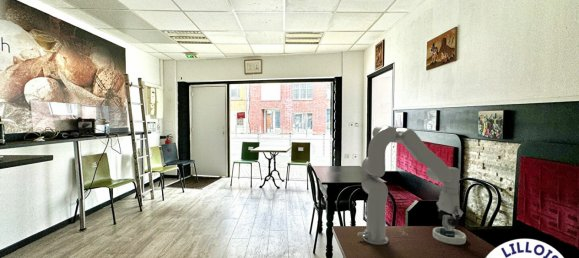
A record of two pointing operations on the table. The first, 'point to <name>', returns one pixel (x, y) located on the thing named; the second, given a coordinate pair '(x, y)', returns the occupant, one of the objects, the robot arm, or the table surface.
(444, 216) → the watch
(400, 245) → the table surface
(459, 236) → the dish
